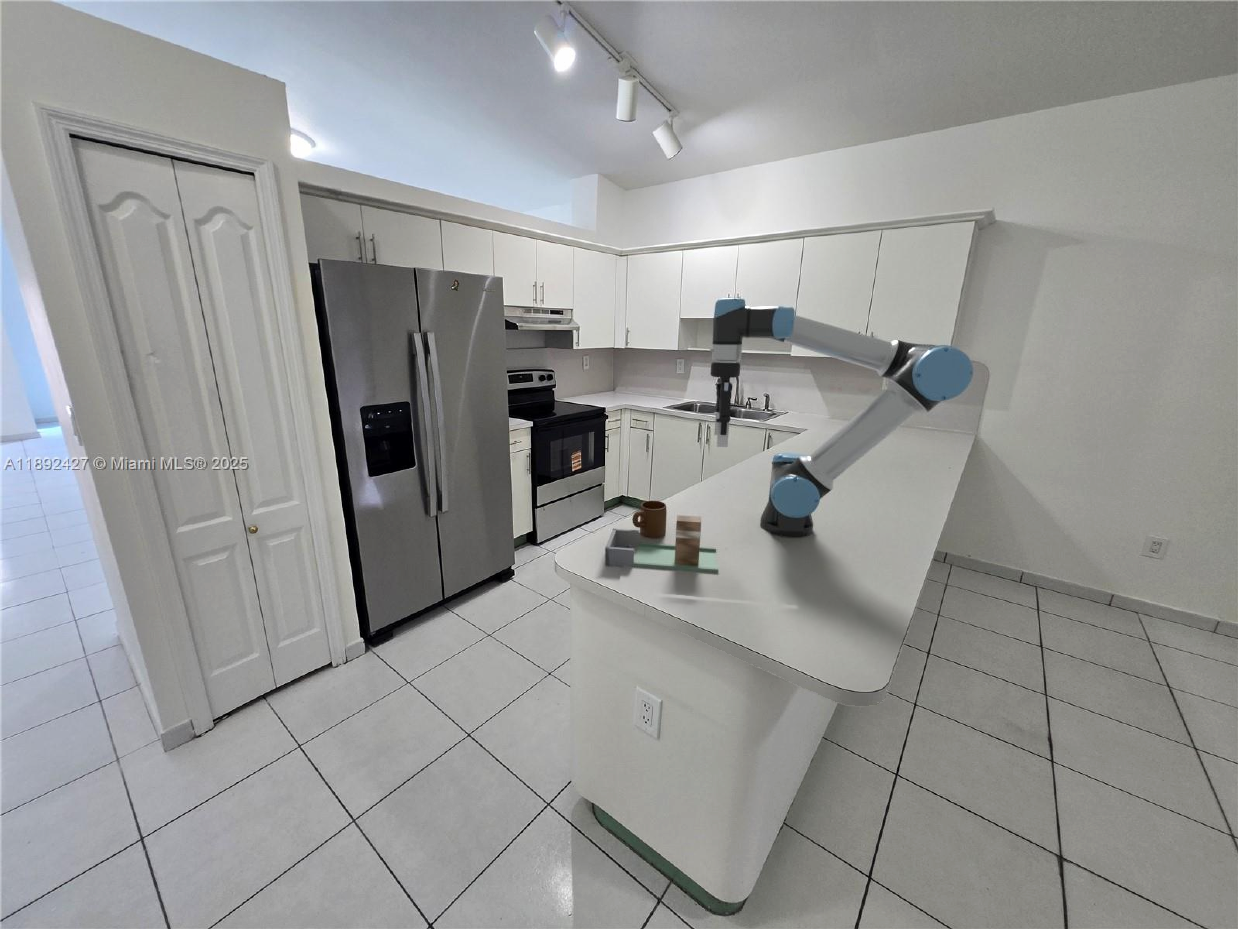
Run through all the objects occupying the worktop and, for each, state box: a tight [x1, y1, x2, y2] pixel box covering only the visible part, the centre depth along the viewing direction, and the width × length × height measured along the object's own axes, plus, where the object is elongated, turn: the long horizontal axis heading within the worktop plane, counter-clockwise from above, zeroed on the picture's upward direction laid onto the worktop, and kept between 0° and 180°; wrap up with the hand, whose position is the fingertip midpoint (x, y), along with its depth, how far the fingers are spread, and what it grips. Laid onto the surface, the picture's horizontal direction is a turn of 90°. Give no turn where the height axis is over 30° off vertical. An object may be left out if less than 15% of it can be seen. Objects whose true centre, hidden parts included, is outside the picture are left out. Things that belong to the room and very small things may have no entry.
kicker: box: [674, 514, 702, 566], centre depth 117 cm, size 6×4×12 cm, turn 81°
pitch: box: [604, 528, 719, 574], centre depth 121 cm, size 28×12×5 cm, turn 81°
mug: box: [631, 500, 668, 539], centre depth 133 cm, size 12×8×9 cm, turn 133°
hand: (720, 440), depth 127 cm, fingers open, 13 cm apart
